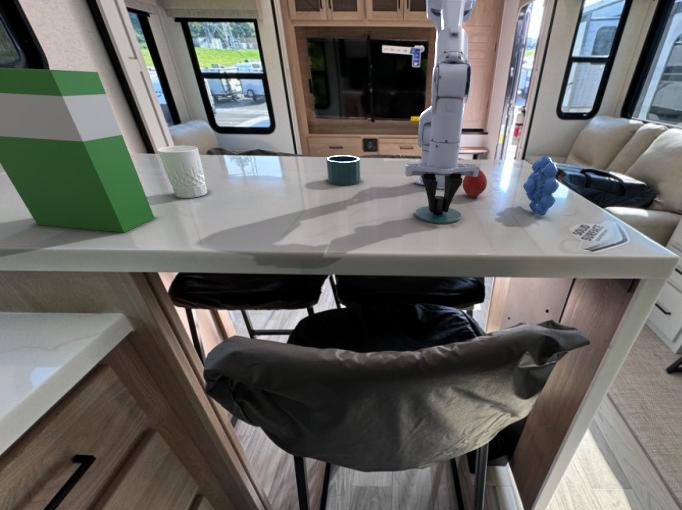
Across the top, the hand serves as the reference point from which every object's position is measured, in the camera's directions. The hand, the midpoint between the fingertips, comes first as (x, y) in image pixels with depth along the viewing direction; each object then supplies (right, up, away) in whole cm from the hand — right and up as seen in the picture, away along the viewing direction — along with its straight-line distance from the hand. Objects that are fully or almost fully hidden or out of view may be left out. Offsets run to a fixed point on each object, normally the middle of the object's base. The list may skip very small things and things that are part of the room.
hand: (438, 210), depth 71 cm
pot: (-24, +15, +23) cm, 36 cm away
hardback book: (-66, -4, -7) cm, 67 cm away
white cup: (-58, +6, +9) cm, 59 cm away
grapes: (+22, +1, +6) cm, 23 cm away
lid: (0, -1, +1) cm, 1 cm away
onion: (+10, +7, +14) cm, 18 cm away
